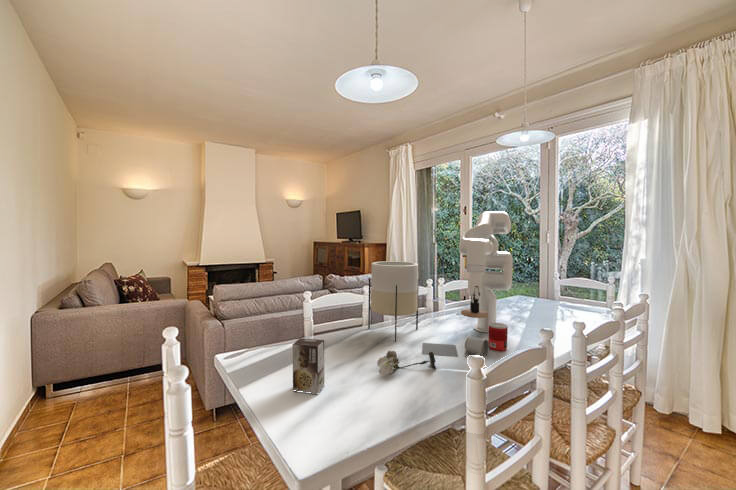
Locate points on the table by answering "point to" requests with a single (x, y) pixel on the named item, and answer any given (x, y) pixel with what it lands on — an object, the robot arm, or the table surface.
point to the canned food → (498, 337)
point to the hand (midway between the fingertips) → (474, 310)
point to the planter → (394, 289)
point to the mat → (439, 349)
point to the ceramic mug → (476, 346)
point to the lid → (474, 315)
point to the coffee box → (308, 365)
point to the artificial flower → (397, 362)
